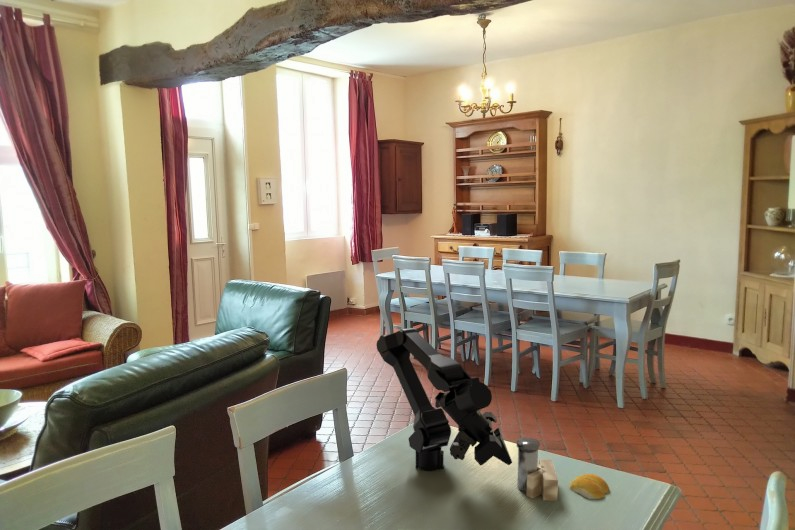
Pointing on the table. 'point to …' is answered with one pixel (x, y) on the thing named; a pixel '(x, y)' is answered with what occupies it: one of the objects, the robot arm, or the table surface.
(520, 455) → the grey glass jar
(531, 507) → the table surface
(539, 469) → the v block
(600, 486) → the bread roll
